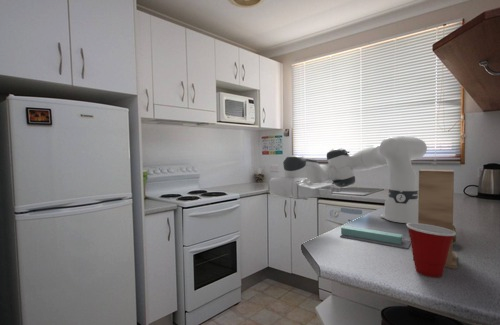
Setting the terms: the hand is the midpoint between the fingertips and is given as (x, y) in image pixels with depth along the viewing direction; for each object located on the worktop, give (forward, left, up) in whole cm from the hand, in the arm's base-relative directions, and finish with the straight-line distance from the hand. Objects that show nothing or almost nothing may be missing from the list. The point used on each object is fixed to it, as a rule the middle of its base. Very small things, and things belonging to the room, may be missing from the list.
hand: (336, 191), depth 103 cm
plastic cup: (+18, +31, -17) cm, 40 cm away
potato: (-14, +33, -17) cm, 39 cm away
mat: (-3, +13, -17) cm, 21 cm away
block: (-3, +12, -16) cm, 20 cm away
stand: (+6, +32, -17) cm, 36 cm away
